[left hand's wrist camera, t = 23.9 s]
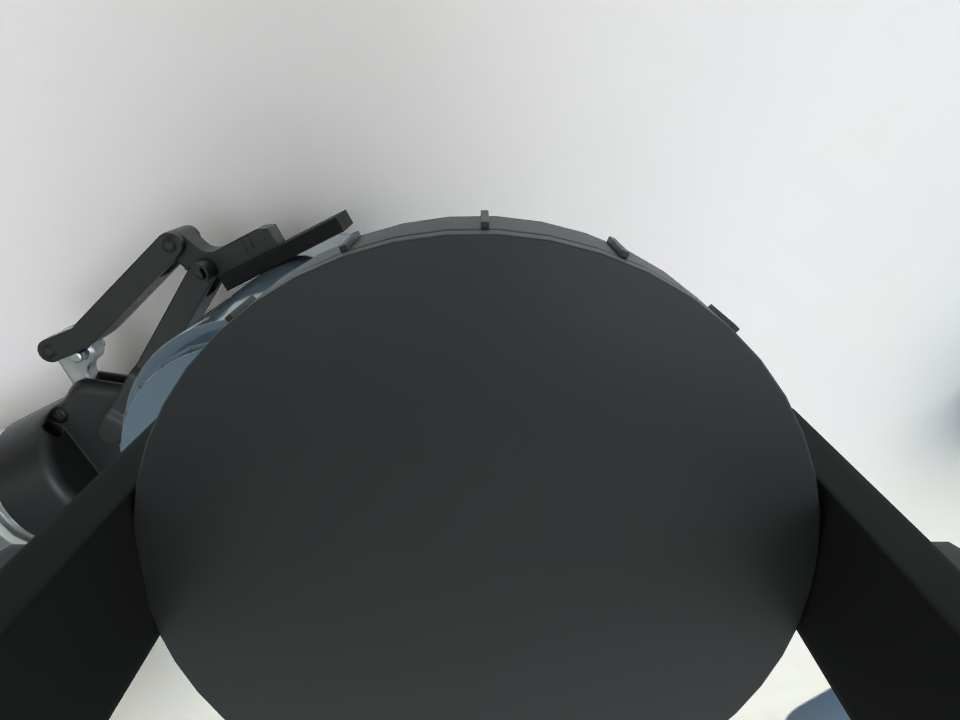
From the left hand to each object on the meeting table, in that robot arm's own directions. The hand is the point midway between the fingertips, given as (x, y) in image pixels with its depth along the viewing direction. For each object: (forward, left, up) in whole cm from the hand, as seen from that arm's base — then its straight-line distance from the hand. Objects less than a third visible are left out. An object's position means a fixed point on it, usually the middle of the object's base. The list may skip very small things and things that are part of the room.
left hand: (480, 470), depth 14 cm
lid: (0, 0, +3) cm, 3 cm away
